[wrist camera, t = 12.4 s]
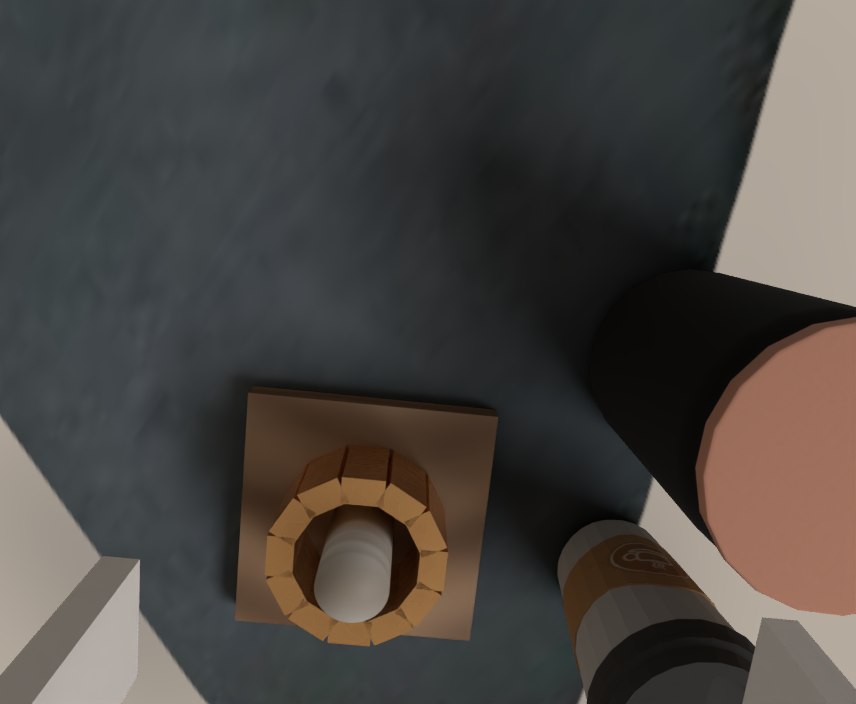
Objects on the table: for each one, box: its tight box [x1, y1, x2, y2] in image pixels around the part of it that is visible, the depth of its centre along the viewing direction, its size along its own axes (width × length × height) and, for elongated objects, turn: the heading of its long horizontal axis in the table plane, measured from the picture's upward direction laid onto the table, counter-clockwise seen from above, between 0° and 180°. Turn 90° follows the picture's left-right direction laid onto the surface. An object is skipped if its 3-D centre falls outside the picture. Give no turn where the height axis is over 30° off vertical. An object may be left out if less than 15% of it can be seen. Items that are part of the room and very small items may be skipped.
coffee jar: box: [589, 269, 856, 616], centre depth 34 cm, size 11×11×18 cm
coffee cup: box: [557, 520, 755, 704], centre depth 38 cm, size 8×8×15 cm
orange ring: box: [265, 444, 448, 646], centre depth 40 cm, size 9×9×5 cm
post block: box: [235, 386, 498, 641], centre depth 40 cm, size 14×14×9 cm
